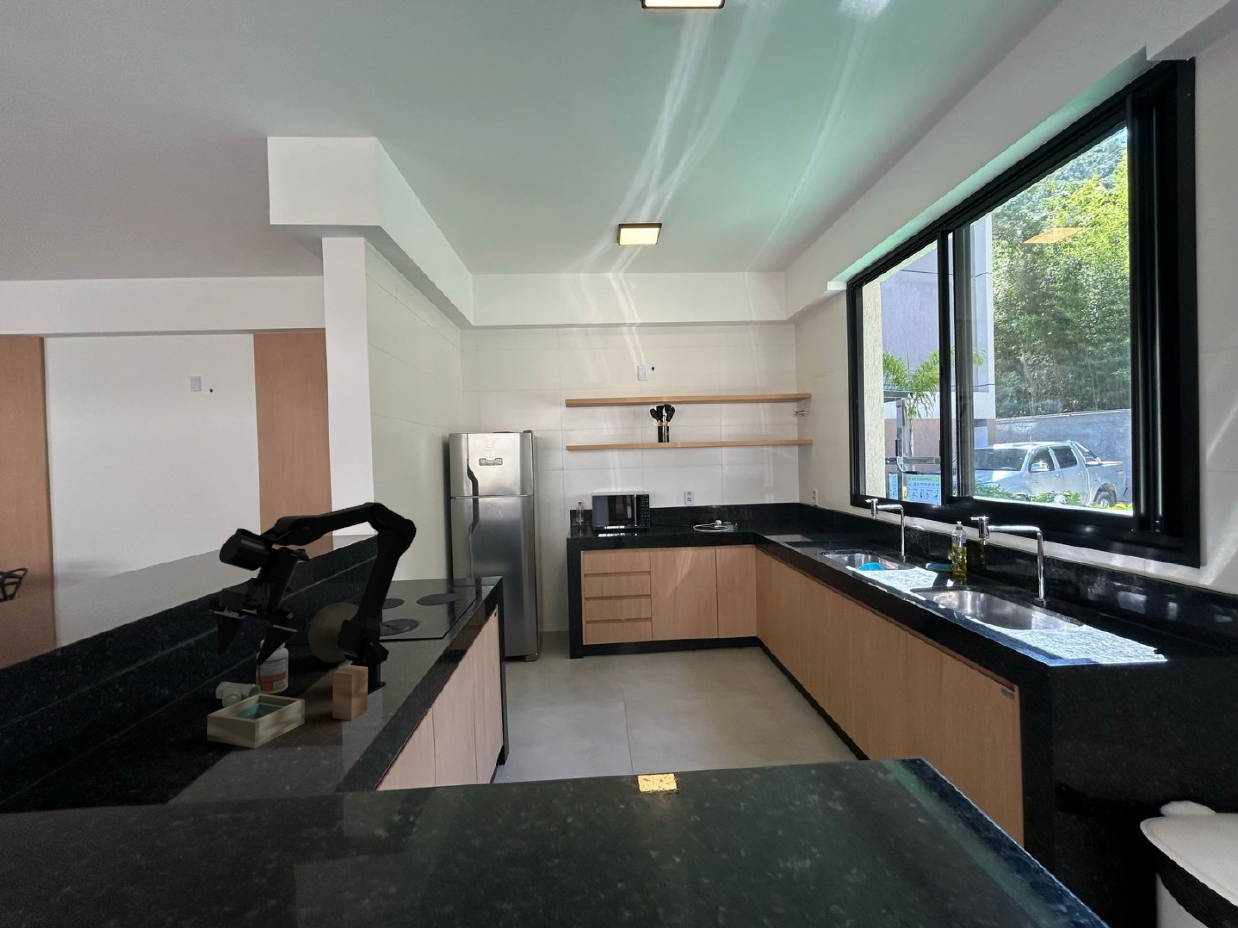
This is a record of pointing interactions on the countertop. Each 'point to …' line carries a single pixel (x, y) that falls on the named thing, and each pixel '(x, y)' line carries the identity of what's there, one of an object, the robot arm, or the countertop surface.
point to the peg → (350, 692)
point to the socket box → (255, 720)
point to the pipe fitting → (235, 692)
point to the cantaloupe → (329, 631)
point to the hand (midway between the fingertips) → (238, 659)
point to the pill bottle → (273, 672)
